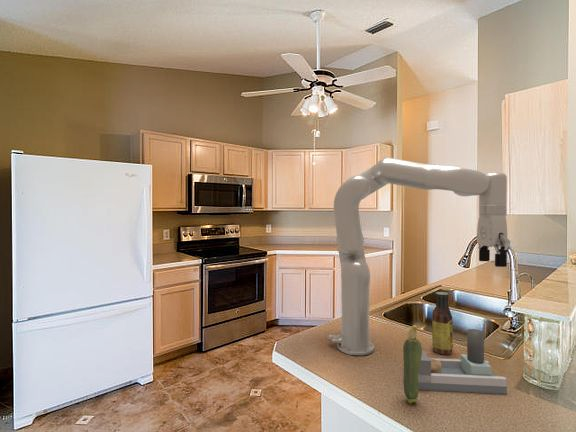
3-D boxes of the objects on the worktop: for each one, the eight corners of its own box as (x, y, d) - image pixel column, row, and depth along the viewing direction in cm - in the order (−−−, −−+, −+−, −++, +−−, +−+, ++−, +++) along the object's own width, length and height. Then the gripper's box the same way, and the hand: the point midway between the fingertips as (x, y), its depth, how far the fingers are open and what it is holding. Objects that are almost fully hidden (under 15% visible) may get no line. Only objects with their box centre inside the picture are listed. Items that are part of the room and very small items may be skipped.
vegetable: (400, 396, 82) (400, 320, 81) (416, 395, 82) (416, 319, 82) (408, 407, 77) (408, 326, 77) (425, 406, 78) (425, 326, 77)
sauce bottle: (455, 356, 103) (455, 296, 103) (434, 355, 105) (435, 295, 104) (449, 347, 110) (449, 291, 109) (430, 346, 111) (430, 290, 110)
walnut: (428, 376, 87) (428, 365, 87) (423, 369, 91) (423, 358, 91) (443, 377, 87) (443, 366, 87) (438, 370, 91) (438, 359, 91)
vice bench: (415, 389, 85) (415, 360, 85) (405, 370, 95) (405, 344, 95) (506, 394, 82) (507, 364, 82) (487, 374, 92) (487, 347, 92)
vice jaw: (471, 380, 85) (471, 336, 85) (460, 367, 92) (460, 326, 91) (491, 381, 84) (491, 337, 84) (478, 368, 91) (479, 327, 91)
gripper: (467, 211, 111) (467, 259, 112) (495, 211, 94) (494, 268, 95) (490, 210, 111) (489, 259, 111) (522, 211, 93) (521, 269, 94)
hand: (492, 263), depth 103 cm, fingers open, 9 cm apart
